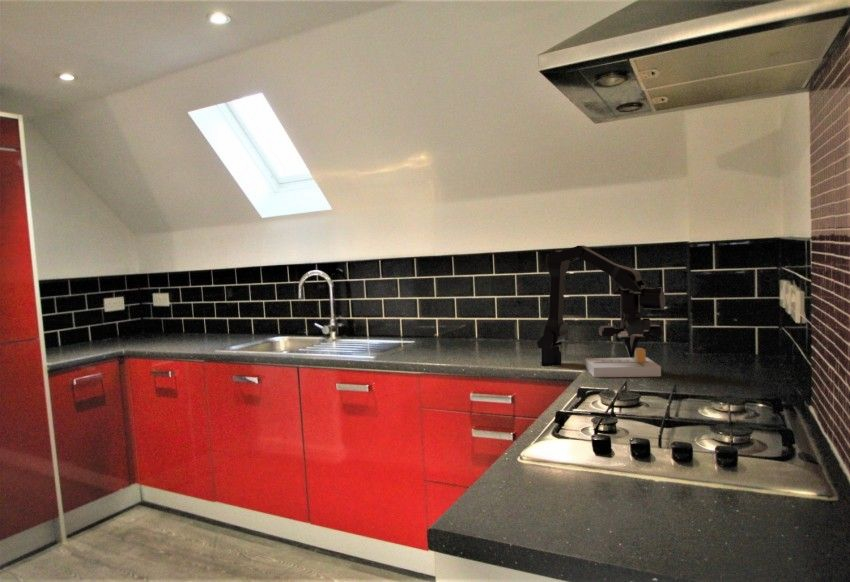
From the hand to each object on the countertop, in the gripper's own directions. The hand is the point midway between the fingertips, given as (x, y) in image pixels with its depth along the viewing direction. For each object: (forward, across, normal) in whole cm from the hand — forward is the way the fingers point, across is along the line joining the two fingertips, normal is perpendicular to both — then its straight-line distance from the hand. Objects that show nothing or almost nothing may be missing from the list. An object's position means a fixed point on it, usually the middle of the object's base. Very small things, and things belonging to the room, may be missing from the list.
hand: (631, 357), depth 188 cm
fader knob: (+5, +3, 0) cm, 5 cm away
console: (+5, -3, 0) cm, 5 cm away
